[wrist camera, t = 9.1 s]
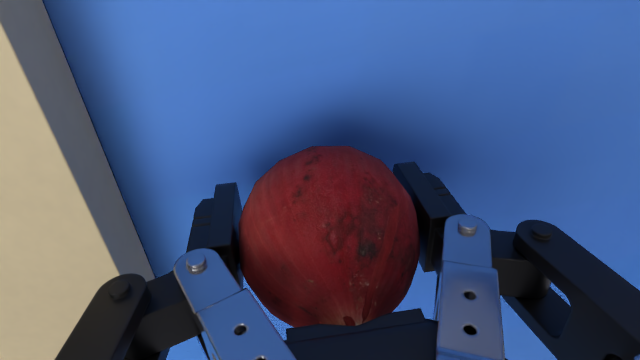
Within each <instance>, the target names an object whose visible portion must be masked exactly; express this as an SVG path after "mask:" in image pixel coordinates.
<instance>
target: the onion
mask: <svg viewBox="0 0 640 360" xmlns="http://www.w3.org/2000/svg"><path fill="white" fill-rule="evenodd" d="M419 256H420V235H419V228H418V221H417V215H416V210H415V208H414V205H413V202H412V200H411V197H410V195H409V194H408V193H407V191H406V190H405V189H404V187H403V186H402V185H401V183H400V182H399V181H398V179H397V178H396V177H395V176H394V174H393V173H392V172H391V170H390V169H389V168H388V167H387V166H386V165H385V164H384V163H383V162H382V161H381V160H380V159H378V158H375V157H373V156H371V155H369V154H366V153H364V152H362V151H360V150H357V149H355V148H353V147H350V146H312V147H309V148H307V149H305V150H302V151H300V152H298V153H296V154H293V155H291V156H289V157H287V158H284V159H282V160H280V161H279V162H277V163H276V164H275V165H274V166H273V167H272V168H271V169H270V170H269V171H268V172H266V173H265V174H264V175H263V176H262V177H261V178H260V179H259V180H258V181H257V182H256V183H255V185H254V187H253V189H252V191H251V193H250V195H249V197H248V200H247V202H246V204H245V206H244V208H243V211H242V214H241V217H240V220H239V259H240V269H241V271H242V273H243V275H244V277H245V279H246V281H247V283H248V285H249V286H250V287H251V289H252V290H253V292H254V293H255V294H256V296H257V297H258V298H259V300H260V301H261V303H262V304H263V305H264V306H265V307H266V308H267V309H268V310H269V311H270V313H271V314H273V315H274V316H276V317H277V318H279V319H280V320H282V321H284V322H285V323H287V324H289V325H291V326H293V327H301V326H308V325H314V324H332V325H347V326H357V325H360V324H363V323H365V322H368V321H370V320H373V319H375V318H377V317H380V316H382V315H385V314H387V313H392V312H393V310H394V309H395V308H396V307H397V306H398V305H399V304H400V303H401V301H402V300H403V299H404V297H405V296H406V294H407V292H408V290H409V288H410V285H411V283H412V280H413V277H414V274H415V271H416V268H417V264H418V260H419Z"/></svg>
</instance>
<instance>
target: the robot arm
mask: <svg viewBox="0 0 640 360" xmlns="http://www.w3.org/2000/svg"><path fill="white" fill-rule="evenodd" d="M393 174H394V176H395V177H396V178H397V179H398V181H399V182H400V183H401V185H402V186H403V187H404V189H405V190H406V191H407V193H408V194H409V195H410V197H411V200H412V202H413V205H414V208H415V210H416V215H417V221H418V228H419V235H420V256H419V260H418V261H419V263H420V265H421V267H422V269H423V271H424V272H430V271H436V273H437V281H436V291H435V302H434V313H433V320H431V319H425V318H424V315H423V313H422V311H421V309H420V308H419V309H412V310H406V311H399V312H393V313H387V314H385V315H382V316H380V317H377V318H375V319H373V320H370V321H368V322H365V323H363V324H360V325H357V326H347V325H332V324H314V325H308V326H301V327H295V328H288V329H286V334H287V340H285V341H284V340H283V339H282V337H281V336H280V334H279V333H278V332H277V330H276V329H275V327H274V326H273V324H272V323H271V321H270V320H269V318H268V317H267V316H266V314H265V313H264V311H263V310H262V308H261V307H260V305H259V304H258V302H257V301H256V299H255V298H254V297H253V295H252V294H251V292H250V291H249V290H248V289H247V288H244V289H243V273H242V271H241V269H240V259H239V220H240V217H241V214H242V207H241V202H240V197H239V192H238V187H237V183H236V182H234V183H225V184H217V185H216V187H215V193H214V198H211V199H203V200H202V201H201V202H200V204H199V205H198V206H197V207H196V208H195V213H194V220H193V222H192V227H191V232H190V237H189V241H188V246H187V251H186V253H185V254H184V255H182V256H181V257H180V258H179V259H178V260H177V261H176V263H175V265H174V268H173V271H171V272H170V273H168V274H166V275H163V276H161V277H158V278H156V279H153V280H150V281H147V282H146V281H145V279H144V278H143V277H142V276H141V275H138V274H134V273H129V274H123V275H119V276H117V277H114V278H112V279H110V280H109V281H107V282H106V283H104V284H103V285H102V286H101V287H100V288H99V289H98V291H97V292H96V294H95V295H94V297H93V298H92V300H91V302H90V303H89V305H88V306H87V308H86V310H85V311H84V313H83V314H82V316H81V318H80V319H79V321H78V323H77V324H76V326H75V327H74V329H73V331H72V332H71V334H70V335H69V337H68V339H67V340H66V342H65V343H64V345H63V347H62V348H61V350H60V351H59V353H58V355H57V356H56V358H55V360H166V358H167V355H168V352H169V349H170V347H172V346H174V345H177V344H179V343H181V342H183V341H186V340H188V339H190V338H193V337H195V336H196V337H197V339H198V342H199V344H200V346H201V348H202V350H203V352H204V354H205V356H206V359H207V360H508V359H506V358H505V353H504V341H503V329H502V317H501V304H500V295H502V297H503V298H504V300H505V301H506V302H507V303H508V304H509V305H510V306H511V308H512V309H513V310H514V311H515V312H516V313H517V314H518V315H519V317H520V318H521V319H522V320H523V321H524V322H525V323H526V325H527V326H528V327H529V328H530V329H531V330H532V331H533V332H534V334H535V335H536V336H537V337H538V338H539V339H540V340H541V341H542V343H543V344H544V345H545V346H546V347H547V348H548V349H549V350H550V352H551V353H552V354H553V355H554V356H555V357H556V358H557V359H558V360H640V291H639V290H638V289H636V288H635V287H634V286H633V285H631V284H630V283H629V282H627V281H626V280H625V279H624V278H622V277H621V276H620V275H618V274H617V273H616V272H614V271H613V270H612V269H611V268H609V267H608V266H607V265H605V264H604V263H603V262H602V261H600V260H599V259H598V258H596V257H595V256H594V255H592V254H591V253H590V252H589V251H587V250H586V249H585V248H583V247H582V246H581V245H580V244H578V243H577V242H576V241H574V240H573V239H572V238H571V237H569V236H568V235H567V234H565V233H564V232H563V231H561V230H560V229H559V228H557V227H556V226H554V225H552V224H550V223H547V222H544V221H539V220H526V221H523V222H521V223H519V224H518V226H517V229H516V232H507V231H496V230H490V228H489V226H488V225H487V223H485V222H484V221H483V220H482V219H480V218H478V217H475V216H472V215H467V214H466V213H465V212H464V210H463V209H462V208H461V207H460V205H459V204H458V203H457V201H456V200H455V199H454V197H453V196H452V195H451V194H450V192H449V191H448V189H447V188H446V187H445V185H444V184H443V183H442V181H441V180H440V179H439V178H437V177H436V176H434V175H432V174H431V173H422V171H421V170H420V169H419V167H418V166H417V164H416V163H415V162H406V163H398V164H394V167H393ZM551 282H552V283H553V284H554V285H555V286H556V287H557V288H558V289H560V290H561V291H562V292H563V293H564V294H565V295H566V297H567V298H568V300H569V302H570V305H571V307H570V306H569V305H568V304H567V303H566V302H565V301H564V300H563V299H562V298H561V297H560V296H559V295H558V294H557V293H556V292H555V291H554V290H552V289H551V288H550V284H551Z"/></svg>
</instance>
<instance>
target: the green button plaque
mask: <svg viewBox="0 0 640 360" xmlns="http://www.w3.org/2000/svg"><path fill="white" fill-rule="evenodd" d="M129 273H134V274H138V275H141V276H142V277H143V278H144V279H145V281H146V282H147V281H150V280H153V279H155V276H154V274H153V272H152V269H151V267H150V264H149V262H148V259H147V257H146V254H145V252H144V249H143V247H142V245H141V242H140V240H139V237H138V235H137V232H136V230H135V227H134V225H133V222H132V220H131V218H130V215H129V213H128V210H127V208H126V205H125V203H124V200H123V198H122V196H121V193H120V191H119V188H118V186H117V183H116V181H115V178H114V176H113V173H112V171H111V169H110V166H109V164H108V161H107V159H106V156H105V154H104V151H103V149H102V146H101V144H100V142H99V139H98V137H97V134H96V132H95V129H94V127H93V124H92V122H91V119H90V117H89V115H88V112H87V110H86V107H85V105H84V102H83V100H82V97H81V95H80V92H79V90H78V88H77V85H76V83H75V80H74V78H73V75H72V73H71V70H70V68H69V65H68V63H67V61H66V58H65V56H64V53H63V51H62V48H61V46H60V43H59V41H58V38H57V36H56V34H55V31H54V29H53V26H52V24H51V21H50V19H49V16H48V14H47V11H46V9H45V7H44V4H43V2H42V0H0V360H55V358H56V356H57V355H58V353H59V351H60V350H61V348H62V347H63V345H64V343H65V342H66V340H67V339H68V337H69V335H70V334H71V332H72V331H73V329H74V327H75V326H76V324H77V323H78V321H79V319H80V318H81V316H82V314H83V313H84V311H85V310H86V308H87V306H88V305H89V303H90V302H91V300H92V298H93V297H94V295H95V294H96V292H97V291H98V289H99V288H100V287H101V286H102V285H103V284H104V283H106V282H107V281H109V280H110V279H112V278H114V277H117V276H119V275H123V274H129Z"/></svg>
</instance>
